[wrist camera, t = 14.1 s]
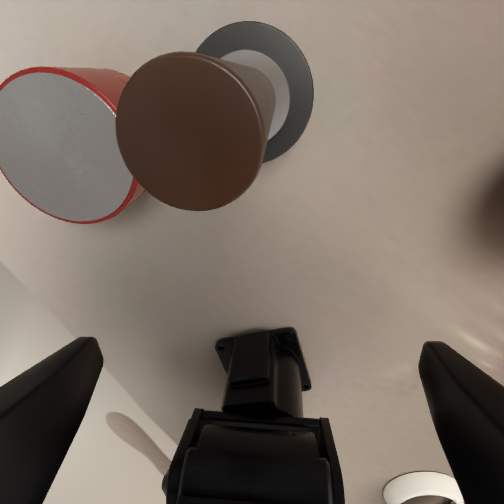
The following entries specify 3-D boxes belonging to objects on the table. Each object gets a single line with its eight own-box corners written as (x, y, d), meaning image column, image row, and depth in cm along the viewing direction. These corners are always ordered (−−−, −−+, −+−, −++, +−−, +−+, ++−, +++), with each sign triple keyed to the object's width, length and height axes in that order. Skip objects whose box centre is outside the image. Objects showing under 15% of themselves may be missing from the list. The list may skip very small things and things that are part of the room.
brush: (318, 136, 19) (389, 255, 6) (218, 164, 20) (114, 309, 8) (295, 11, 16) (338, -201, 4) (181, 51, 17) (-69, -7, 5)
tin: (188, 177, 20) (161, 206, 16) (91, 205, 22) (41, 238, 17) (140, 50, 17) (90, 41, 13) (30, 91, 19) (-49, 96, 14)
